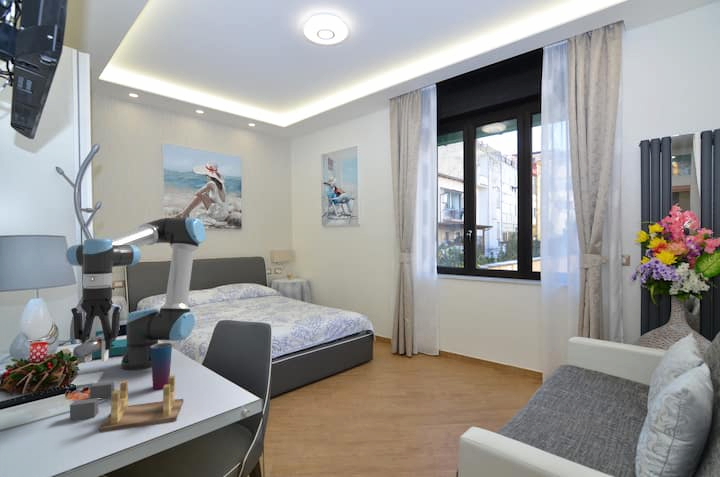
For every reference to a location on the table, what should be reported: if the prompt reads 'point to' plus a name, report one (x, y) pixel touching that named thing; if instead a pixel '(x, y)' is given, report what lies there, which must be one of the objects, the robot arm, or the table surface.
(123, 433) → the table surface
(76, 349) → the brushed aluminium bar
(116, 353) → the teal l-shaped bracket
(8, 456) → the table surface
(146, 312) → the robot arm
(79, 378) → the hard drive
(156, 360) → the cup
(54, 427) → the table surface
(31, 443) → the table surface
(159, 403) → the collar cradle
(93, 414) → the grey blocks
